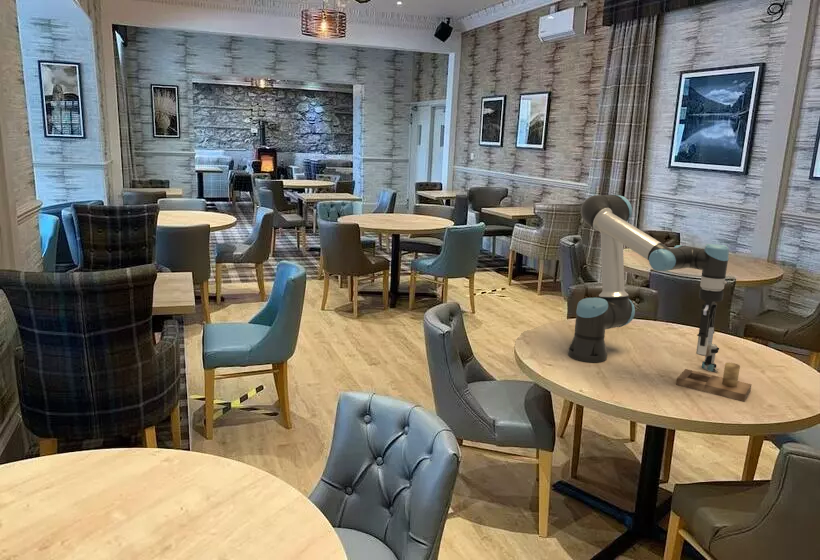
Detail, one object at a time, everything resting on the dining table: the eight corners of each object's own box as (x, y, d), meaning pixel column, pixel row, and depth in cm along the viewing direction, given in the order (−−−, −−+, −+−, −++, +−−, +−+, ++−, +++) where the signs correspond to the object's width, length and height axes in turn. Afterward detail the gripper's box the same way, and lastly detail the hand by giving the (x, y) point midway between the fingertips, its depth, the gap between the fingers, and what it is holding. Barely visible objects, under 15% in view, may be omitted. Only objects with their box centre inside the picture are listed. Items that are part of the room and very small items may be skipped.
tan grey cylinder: (694, 354, 214) (698, 327, 212) (697, 351, 218) (701, 324, 216) (708, 357, 211) (712, 329, 209) (711, 353, 215) (715, 327, 213)
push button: (722, 372, 230) (725, 347, 228) (712, 373, 228) (716, 348, 226) (707, 366, 236) (710, 342, 234) (697, 367, 234) (701, 343, 232)
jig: (676, 384, 216) (679, 358, 214) (684, 375, 226) (688, 350, 223) (744, 401, 203) (748, 373, 201) (750, 391, 212) (754, 364, 210)
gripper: (718, 294, 200) (709, 361, 205) (728, 286, 214) (720, 348, 219) (694, 291, 205) (685, 356, 210) (706, 283, 219) (698, 344, 223)
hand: (703, 352), depth 214 cm, fingers closed on tan grey cylinder, 5 cm apart
